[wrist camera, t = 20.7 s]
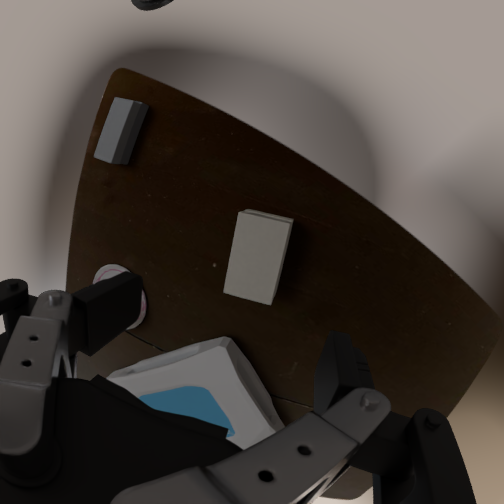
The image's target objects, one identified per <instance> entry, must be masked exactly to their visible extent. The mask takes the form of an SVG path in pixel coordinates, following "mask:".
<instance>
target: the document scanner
mask: <svg viewBox="0 0 504 504" xmlns="http://www.w3.org/2000/svg"><path fill="white" fill-rule="evenodd" d="M106 379H108V380H110V381H111V382H113V383H115V384H117V385H119V386H121V387H123V388H125V389H127V390H128V391H129V392H131V393H132V394H133V395H135V396H136V397H137V398H139V399H140V400H141V401H143V402H144V403H145V404H147V405H148V406H150V407H151V408H153V409H156V410H160V411H165V412H170V413H175V414H180V415H186V416H191V417H195V418H198V419H200V420H203V421H206V422H209V423H212V424H215V425H219V426H222V427H225V428H228V429H229V430H228V433H227V437H226V439H227V440H229V441H231V442H233V443H234V444H236V445H238V446H239V447H240V448H242V449H243V450H245V449H246V448H248V447H250V446H252V445H254V444H256V443H258V442H260V441H261V440H263V439H265V438H267V437H269V436H270V435H272V434H274V433H276V432H277V431H279V430H281V429H282V428H284V427H285V426H284V425H283V423H282V421H281V420H280V418H279V416H278V414H277V412H276V410H275V409H274V407H273V404H272V399H271V397H270V395H269V394H268V392H267V390H266V389H265V387H264V385H263V384H262V382H261V380H260V379H259V377H258V375H257V374H256V372H255V370H254V369H253V367H252V365H251V363H250V362H249V361H248V359H247V358H246V357H245V356H244V354H243V353H242V352H241V350H240V349H239V348H238V347H237V345H236V344H235V343H234V341H233V340H232V339H231V338H228V337H225V336H224V337H220V338H216V339H212V340H208V341H204V342H200V343H196V344H192V345H189V346H186V347H183V348H180V349H177V350H174V351H171V352H168V353H165V354H162V355H158V356H155V357H152V358H149V359H146V360H142V361H140V362H138V363H137V364H135V365H132V366H129V367H126V368H123V369H120V370H117V371H114V372H112V373H111V374H110V375H109V376H108V377H107V378H106Z"/></svg>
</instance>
